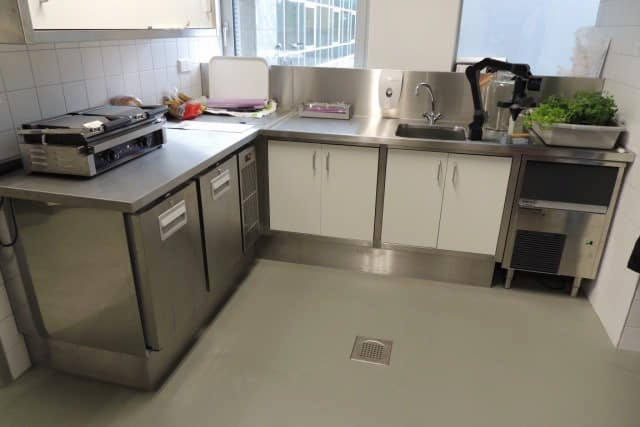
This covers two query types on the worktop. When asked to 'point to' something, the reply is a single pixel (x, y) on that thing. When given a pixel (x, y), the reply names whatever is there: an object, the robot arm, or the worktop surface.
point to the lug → (530, 139)
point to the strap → (517, 135)
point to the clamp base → (514, 141)
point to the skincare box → (516, 125)
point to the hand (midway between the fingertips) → (514, 121)
